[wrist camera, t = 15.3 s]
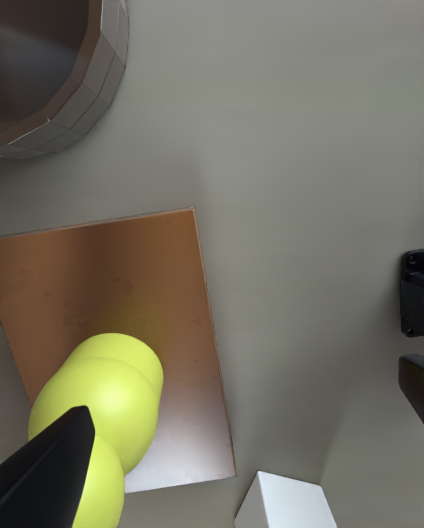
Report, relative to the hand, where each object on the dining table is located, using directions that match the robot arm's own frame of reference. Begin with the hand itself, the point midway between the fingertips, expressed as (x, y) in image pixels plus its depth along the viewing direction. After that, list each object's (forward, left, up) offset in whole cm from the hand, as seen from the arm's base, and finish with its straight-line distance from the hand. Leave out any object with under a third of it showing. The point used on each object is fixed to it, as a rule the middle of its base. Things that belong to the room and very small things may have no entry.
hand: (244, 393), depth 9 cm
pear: (+8, +5, -10) cm, 14 cm away
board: (+7, +5, -13) cm, 16 cm away
